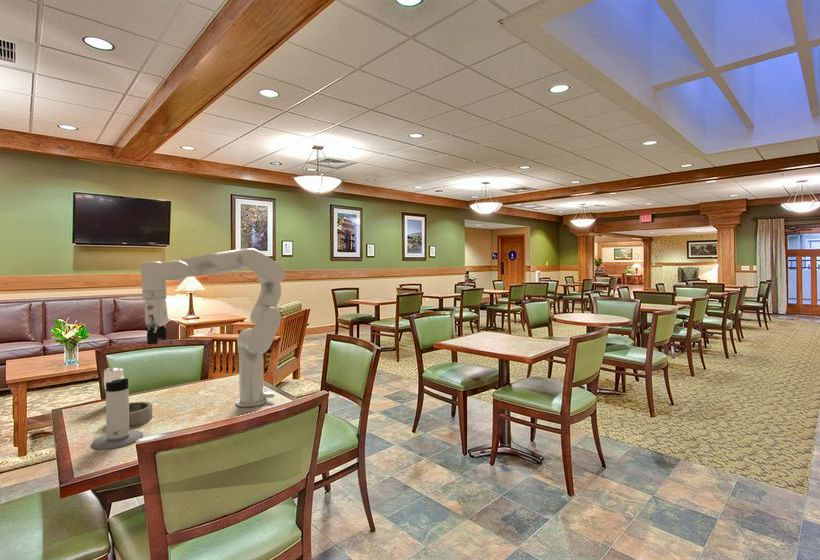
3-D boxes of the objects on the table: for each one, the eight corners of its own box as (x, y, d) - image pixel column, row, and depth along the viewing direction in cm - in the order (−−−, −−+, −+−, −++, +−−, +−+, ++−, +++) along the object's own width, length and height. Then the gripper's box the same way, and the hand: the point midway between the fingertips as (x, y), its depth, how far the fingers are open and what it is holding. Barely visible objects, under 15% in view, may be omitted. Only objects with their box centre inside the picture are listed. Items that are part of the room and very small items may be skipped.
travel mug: (118, 443, 138) (117, 382, 137) (101, 441, 140) (100, 381, 139) (134, 435, 144) (133, 377, 144) (118, 433, 146) (117, 376, 145)
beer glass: (103, 408, 172) (101, 372, 171) (106, 403, 178) (105, 368, 177) (123, 406, 175) (122, 370, 174) (125, 401, 181) (125, 366, 180)
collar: (157, 413, 167) (156, 400, 167) (143, 426, 154) (143, 412, 154) (118, 415, 164) (118, 403, 164) (101, 429, 151) (101, 415, 151)
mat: (149, 430, 150) (149, 428, 150) (132, 447, 137) (132, 445, 137) (104, 433, 147) (104, 431, 147) (82, 451, 134) (82, 449, 134)
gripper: (158, 297, 148) (161, 345, 149) (172, 292, 165) (175, 336, 166) (133, 298, 146) (137, 347, 147) (151, 293, 163) (154, 337, 164)
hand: (157, 341), depth 157 cm, fingers open, 9 cm apart
